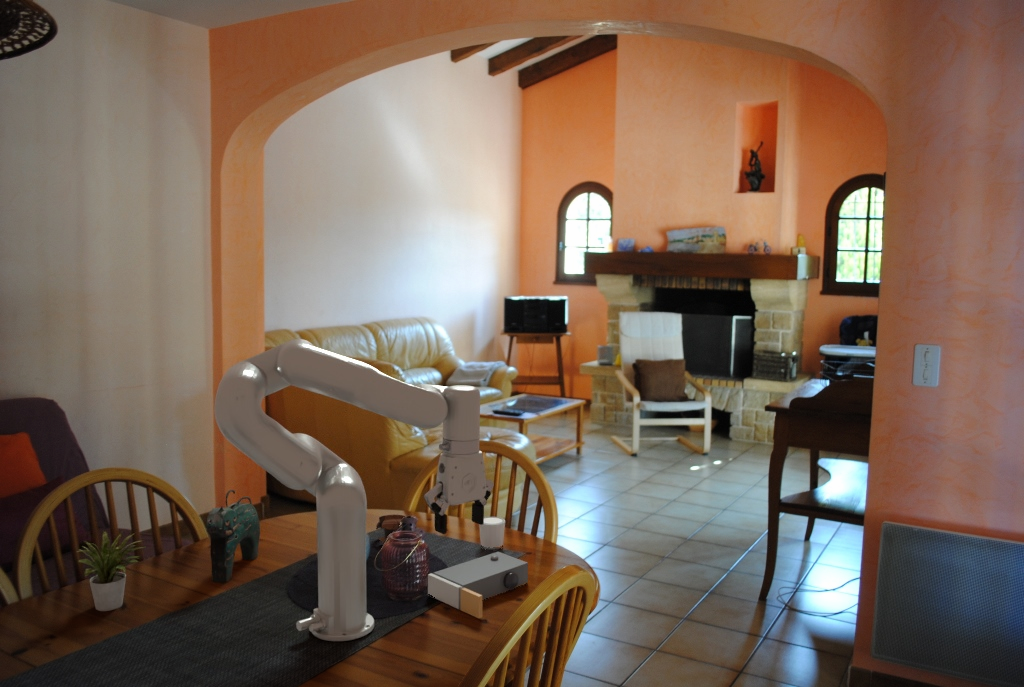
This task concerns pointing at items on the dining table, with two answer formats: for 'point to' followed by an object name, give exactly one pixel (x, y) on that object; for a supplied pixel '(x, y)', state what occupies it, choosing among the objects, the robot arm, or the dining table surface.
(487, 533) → the white cup
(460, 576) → the box
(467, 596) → the side door
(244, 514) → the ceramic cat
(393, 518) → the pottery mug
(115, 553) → the house plant
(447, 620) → the dining table surface
